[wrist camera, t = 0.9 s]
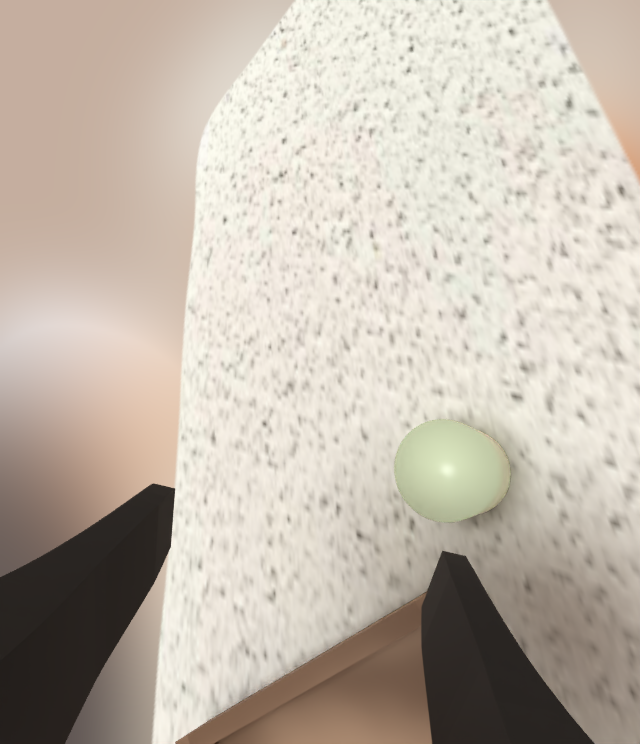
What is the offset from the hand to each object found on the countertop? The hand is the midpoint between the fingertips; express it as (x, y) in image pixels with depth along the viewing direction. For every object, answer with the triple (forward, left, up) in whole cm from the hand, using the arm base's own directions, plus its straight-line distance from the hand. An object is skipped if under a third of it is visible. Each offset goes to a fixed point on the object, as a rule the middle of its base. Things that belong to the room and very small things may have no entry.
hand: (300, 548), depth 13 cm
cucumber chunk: (+1, -2, -15) cm, 15 cm away
